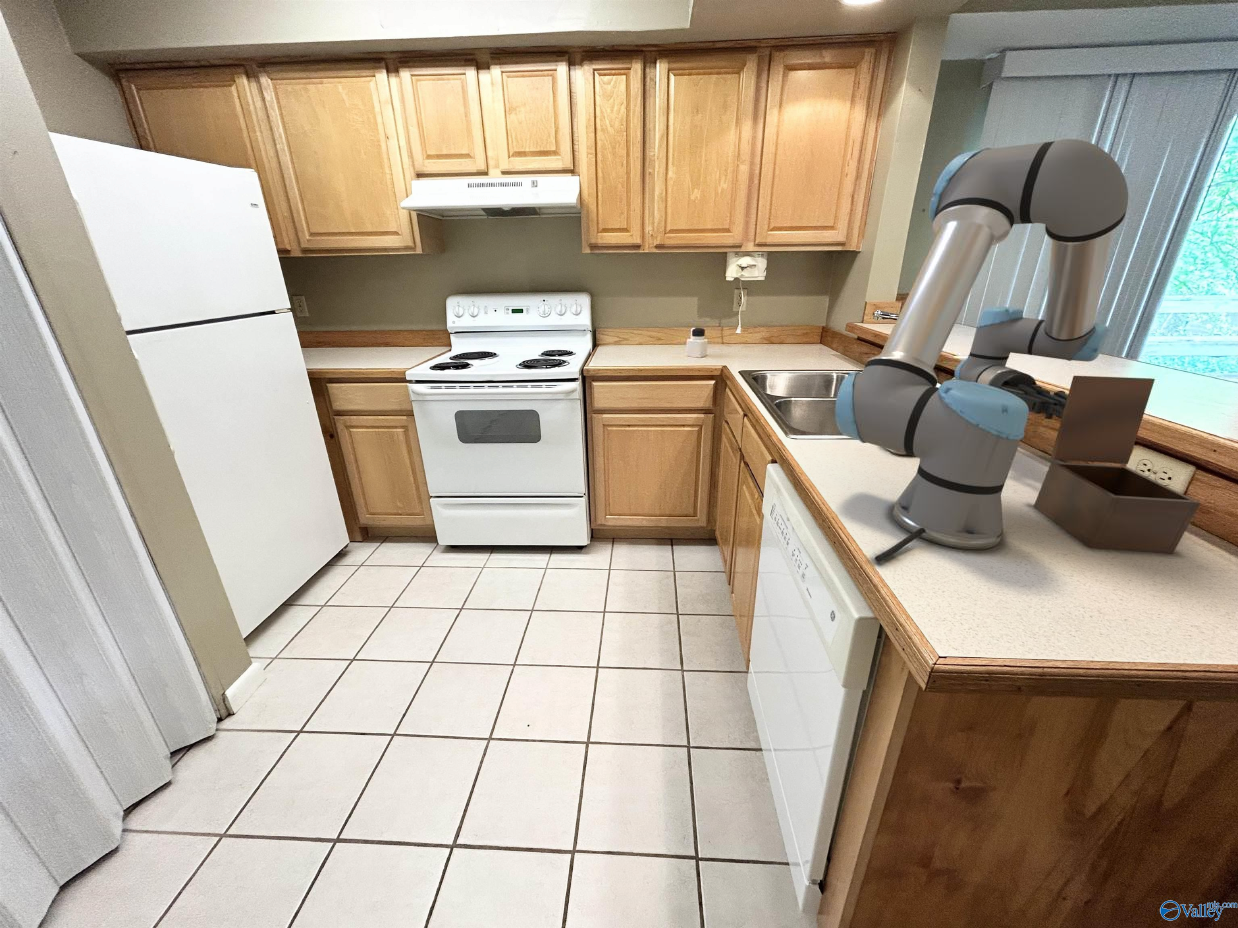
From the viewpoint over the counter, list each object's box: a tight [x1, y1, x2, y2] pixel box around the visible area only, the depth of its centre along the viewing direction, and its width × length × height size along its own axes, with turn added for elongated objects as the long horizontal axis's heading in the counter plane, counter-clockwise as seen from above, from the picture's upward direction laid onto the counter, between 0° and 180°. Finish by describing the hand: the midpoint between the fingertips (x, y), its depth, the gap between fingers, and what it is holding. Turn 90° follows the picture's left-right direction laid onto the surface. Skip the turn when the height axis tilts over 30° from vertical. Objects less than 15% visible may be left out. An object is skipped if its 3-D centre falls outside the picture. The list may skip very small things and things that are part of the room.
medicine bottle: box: [685, 327, 709, 359], centre depth 214 cm, size 7×7×12 cm
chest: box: [1033, 461, 1202, 554], centre depth 80 cm, size 14×12×9 cm
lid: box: [1050, 375, 1155, 465], centre depth 82 cm, size 14×12×1 cm
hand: (1088, 420), depth 84 cm, fingers closed
